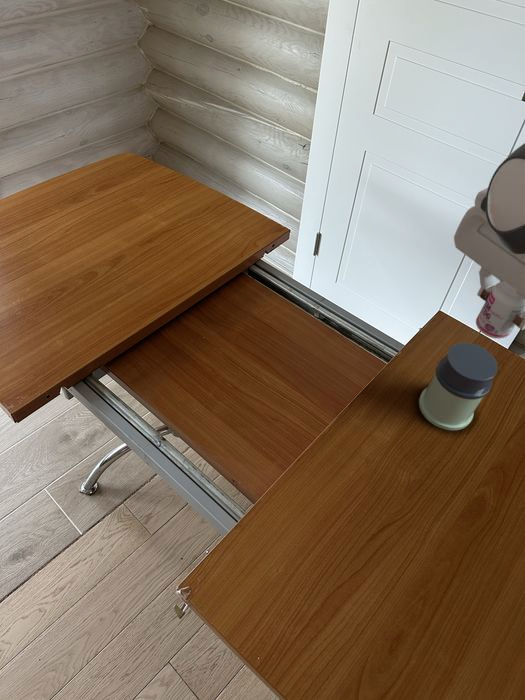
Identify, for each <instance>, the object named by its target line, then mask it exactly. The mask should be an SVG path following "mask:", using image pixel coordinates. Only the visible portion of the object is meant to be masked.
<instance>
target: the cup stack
mask: <svg viewBox="0 0 525 700" xmlns="http://www.w3.org/2000/svg"><path fill="white" fill-rule="evenodd" d="M498 370H499V366H498V362H497V360H496V358H495V357H494V356H493V354H492V353H491V352H490V351H488V350H487V349H485V348H484V347H483V346H480V345H478V344H475V343H471V342H459V343H456V344H453V345H452V346H451V347H449V348H448V351H447V352H446V355H445V356H443V357H442V358H441V359H439V361H438V363H437V365H436V367H435V372H434V374H433V376H432V377H431V379H430V381H429V383H428V386H427V387H425V388H424V389H423V390H422V392H421V394H420V395H419V398H418V407H419V410H420V412H421V414H422V415H423V417H424V418H425V419H426V421H428V422H429V423H431V424H432V425H434V426H436V427H437V428H439V429H442V430H446V431H459V430H463V429H465V428H466V427H468V426H469V425H470V423H472V420H473V418H474V414H475V411H476V409H477V408H478V407H479V405H480V403H481V402H482V400H483V399H484V397H485V396H487V395H488V394H489V393H490V391H491V390H492V387H493V379H494V378H495V376H496V375H497V373H498Z"/></svg>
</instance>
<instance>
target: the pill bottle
mask: <svg viewBox="0 0 525 700" xmlns="http://www.w3.org/2000/svg"><path fill="white" fill-rule="evenodd" d="M524 311H525V299H524V298H523V297H521V296H520V295H519V294H517V290H516V289H515V288H514V287H513V286H511V285H510V284H509V283H507V282H506V281H503V282H501V281H500V280H499V282H497V283H496V284H494V287H493V289H492V291H491V292H490V294H489V296H488V298H487V300H486V301H484V304H483V305H482V307H481V309H480V310H479V313H478V315H477V317H476V319H475V325H476V328H477V329H478V330H479V332H481V334H483V335H484V336H487V337H489V338H491V339H505V338H507V337H509V336H510V334H511V333H512V332H513V330H514V328H515V327H516V325H515V324H514V323H513V321H514V320H516V316H517V315H518V314H520V313H523V312H524Z"/></svg>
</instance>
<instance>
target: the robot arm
mask: <svg viewBox="0 0 525 700" xmlns="http://www.w3.org/2000/svg"><path fill="white" fill-rule="evenodd" d="M453 241H454V242H453V243H454V247H455V248H456V249H457V250H459V252H461V253H462V254H464V255H465V256H466V257H468V259H470V260H472V261H473V262H474V263H476V264H477V265H478V266H480V269H479V270H478V274H479V285H480V287H479V289H478V291H477V294H476V295H477V296H478V297H479V298H480V299H482V300H483V301H484V302H486V300H487V298H488V296H489V294H490V292H491V291H492V289H493V287H494V286H495V283H494V282H495V278H496V280H498V281H499V282H500V281H501V282H503V281H506V282H507V283H509V284H510V285H511V286H513V287H514V288H515V289H516V290H517V294H519V295H520V296H521V297H523V298H524V299H525V142H524V143H523V144H521V145H520V146H519V147H517V148H516V149H515V150H514V151H512V152H511V153H510V154H509V155H508V156H507V157H506V158H505V159H503V161H502V162H501V163H500V164H499V166H497V168H496V169H495V171H494V172H493V174H492V176H491V177H490V181H489V183H488V186H487V187H486V188H484V189H482V190H480V191H479V192H477V194H476V196H475V198H474V205H473V206H471V207H470V208H468V209H467V211H465V213H464V215H463V216H462V218H461V221H460V222H459V224H458V226H457V228H456V231H455V233H454V235H453ZM513 323H514V324H515V327H517V328H518V329H519V330H521V331H523V330H525V311H524V312H523V313H520V314H518V315H517V316H516V320H514V321H513Z"/></svg>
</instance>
